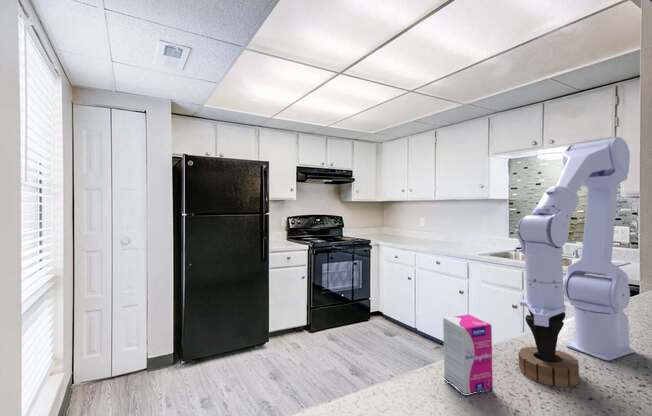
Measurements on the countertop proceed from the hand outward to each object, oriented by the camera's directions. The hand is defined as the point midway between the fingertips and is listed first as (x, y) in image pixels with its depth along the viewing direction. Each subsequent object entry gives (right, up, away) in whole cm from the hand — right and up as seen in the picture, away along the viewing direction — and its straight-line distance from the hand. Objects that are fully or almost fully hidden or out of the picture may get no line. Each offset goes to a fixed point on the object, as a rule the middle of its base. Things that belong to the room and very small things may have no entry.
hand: (547, 353), depth 60 cm
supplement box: (-16, -5, -3) cm, 17 cm away
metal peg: (0, -2, 0) cm, 2 cm away
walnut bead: (0, -4, 0) cm, 4 cm away
